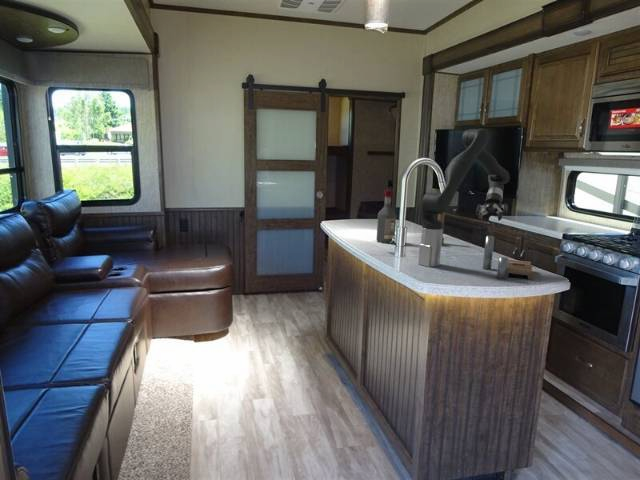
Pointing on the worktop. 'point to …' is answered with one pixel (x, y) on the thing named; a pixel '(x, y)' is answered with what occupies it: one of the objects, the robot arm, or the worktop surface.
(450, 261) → the worktop surface
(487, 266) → the long pin
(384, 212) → the liquor
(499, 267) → the short pin
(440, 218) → the wooden block
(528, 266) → the plate
